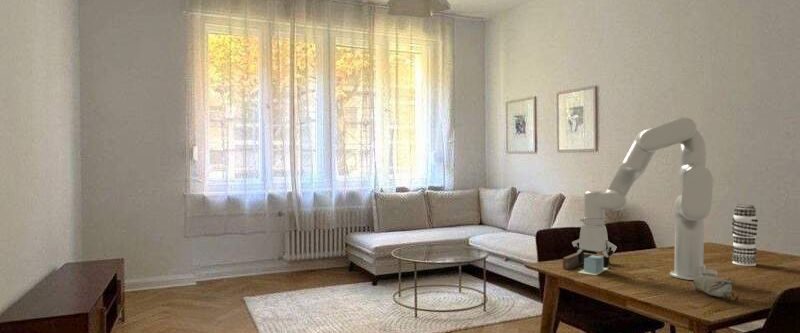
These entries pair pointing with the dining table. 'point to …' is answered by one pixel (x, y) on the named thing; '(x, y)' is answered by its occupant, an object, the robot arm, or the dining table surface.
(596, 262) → the block
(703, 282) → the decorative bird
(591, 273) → the pad
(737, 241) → the decorative candle
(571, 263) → the wall far
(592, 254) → the wall side
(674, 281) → the dining table surface
